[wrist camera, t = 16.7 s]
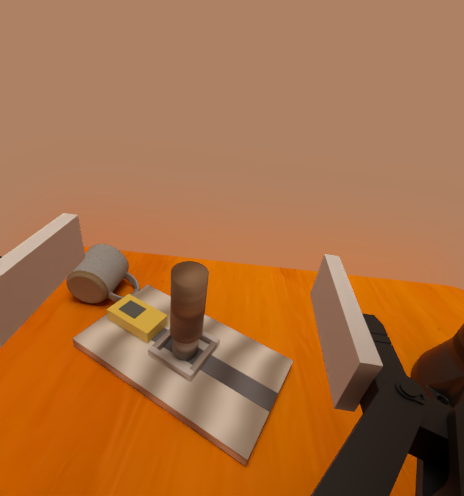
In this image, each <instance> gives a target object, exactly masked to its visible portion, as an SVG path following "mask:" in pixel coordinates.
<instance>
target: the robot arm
mask: <svg viewBox="0 0 464 496" xmlns="http://www.w3.org/2000/svg"><path fill="white" fill-rule="evenodd" d="M84 259H85V254H84V248H83V242H82V236H81V231H80V225H79V219H78V215H73V214H66V213H63V214H62V215H60V216H59V217H57V218H56V219H55V220H54V221H52V222H50V223H49V224H48V225H46V226H45V227H44V228H42V229H41V230H39V231H38V232H37V233H35V234H34V235H32V236H31V237H30V238H28V239H27V240H26V241H24V242H23V243H21V244H20V245H18V246H17V247H16V248H14V249H13V250H11V251H10V252H9V253H7V254H6V255H5V256H3V257H1V256H0V348H1V347H2V346H3V345H4V344H5V342H6V341H7V340H8V339H9V338H10V337H11V336H12V335H13V334H14V333H15V332H16V331H17V330H18V329H19V328H20V327H21V326H22V324H23V323H24V322H25V321H26V320H27V319H28V318H29V317H30V316H31V315H32V314H33V313H34V312H35V311H36V310H37V309H38V308H39V306H40V305H41V304H42V303H43V302H44V301H45V300H46V299H47V298H48V297H49V296H50V295H51V294H52V293H53V292H54V291H55V290H56V288H57V287H58V286H59V285H60V284H61V283H62V282H63V281H64V280H65V279H66V278H67V277H68V276H69V275H70V274H71V273H72V272H73V271H74V269H75V268H76V267H77V266H78V265H79V264H80V263H81V262H82V261H83V260H84ZM311 299H312V304H313V309H314V314H315V319H316V323H317V328H318V333H319V338H320V343H321V347H322V352H323V357H324V362H325V367H326V372H327V376H328V381H329V386H330V391H331V396H332V400H333V405H334V408H335V409H341V410H347V411H353V412H354V411H355V410H356V408H357V407H358V405H359V403H360V405H361V408H362V412H363V415H362V416H361V418H360V419H359V421H358V422H357V424H356V425H355V427H354V428H353V430H352V432H351V433H350V435H349V437H348V438H347V440H346V441H345V443H344V444H343V446H342V447H341V449H340V451H339V452H338V454H337V455H336V457H335V458H334V460H333V462H332V463H331V465H330V466H329V468H328V469H327V471H326V472H325V474H324V476H323V477H322V479H321V480H320V482H319V483H318V485H317V487H316V488H315V490H314V491H313V493H312V494H311V496H389V495H390V493H391V491H392V488H393V486H394V484H395V481H396V479H397V477H398V474H399V472H400V470H401V468H402V465H403V463H404V461H405V458H406V456H407V454H408V453H409V454H411V455H413V456H415V457H417V472H416V493H415V496H464V324H463V325H462V326H461V328H460V329H459V330H458V332H457V333H456V334H455V335H454V337H453V338H451V339H449V340H447V341H445V342H443V343H442V344H440V345H438V346H436V347H434V348H432V349H430V350H428V351H426V352H425V353H423V354H422V355H421V356H420V358H419V359H418V360H417V362H416V363H415V364H414V366H413V368H412V372H411V378H412V379H411V378H409V377H408V376H407V375H406V373H405V371H404V369H403V367H402V365H401V363H400V361H399V358H398V356H397V354H396V352H395V350H394V348H393V345H391V341H390V339H389V337H387V333H386V330H385V328H384V326H383V324H382V323H381V322H380V321H379V320H378V319H377V318H376V317H375V316H374V315H368V314H362V312H361V310H360V307H359V305H358V302H357V300H356V297H355V295H354V292H353V290H352V287H351V285H350V282H349V280H348V277H347V275H346V272H345V270H344V267H343V265H342V262H341V260H340V257H339V256H333V255H327V254H324V257H323V260H322V263H321V266H320V268H319V271H318V274H317V277H316V280H315V282H314V285H313V288H312V291H311Z"/></svg>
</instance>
